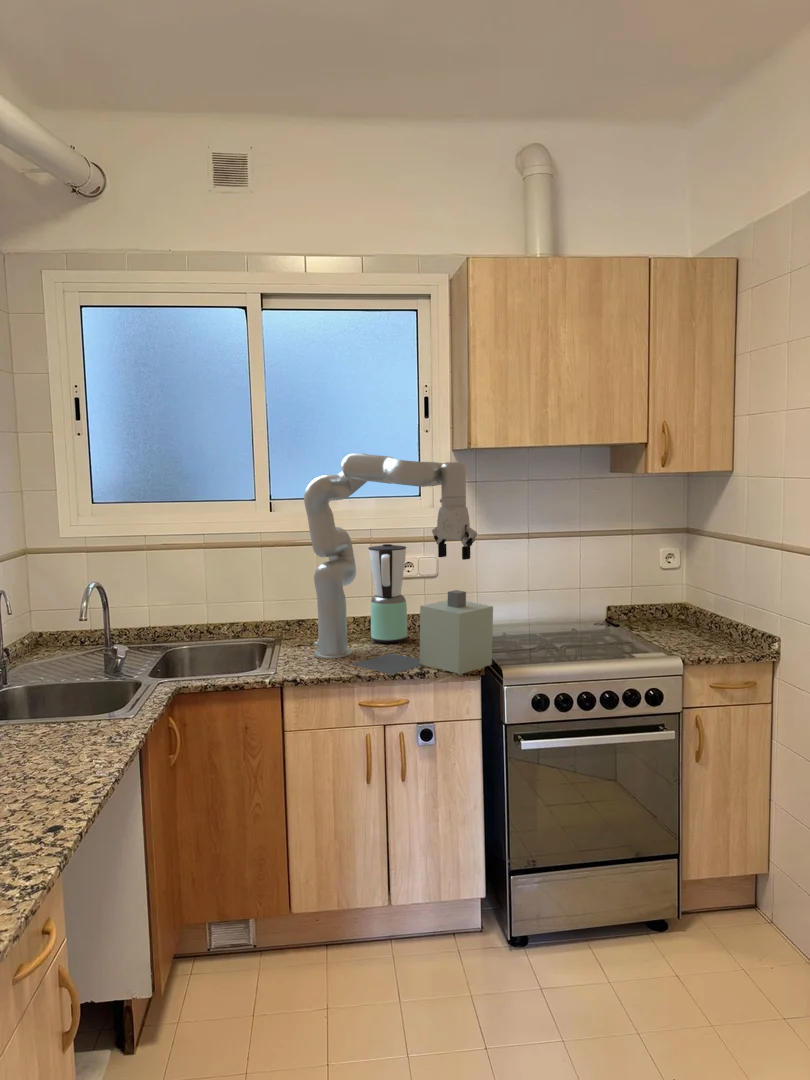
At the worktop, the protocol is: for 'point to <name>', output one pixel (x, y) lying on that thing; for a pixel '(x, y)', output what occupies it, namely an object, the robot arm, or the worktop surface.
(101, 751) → the worktop surface
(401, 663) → the mat
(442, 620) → the cover
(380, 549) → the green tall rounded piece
